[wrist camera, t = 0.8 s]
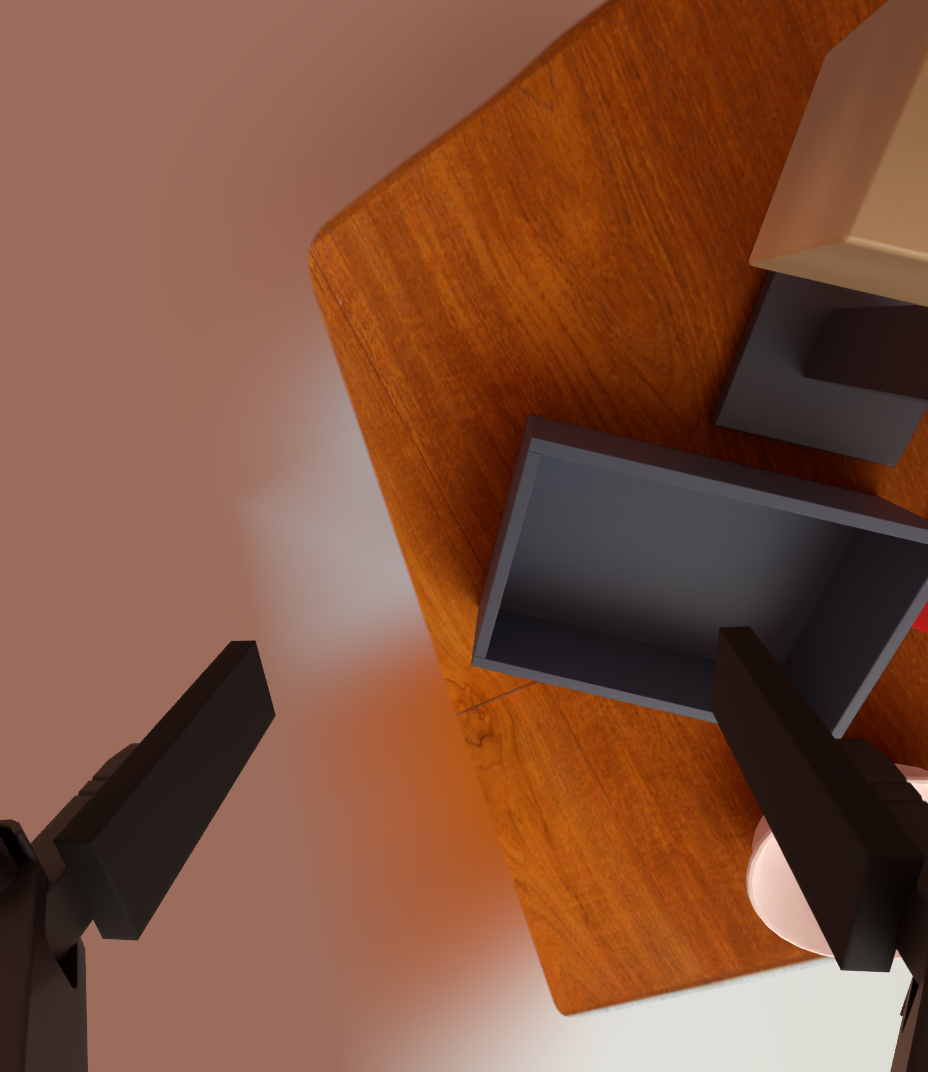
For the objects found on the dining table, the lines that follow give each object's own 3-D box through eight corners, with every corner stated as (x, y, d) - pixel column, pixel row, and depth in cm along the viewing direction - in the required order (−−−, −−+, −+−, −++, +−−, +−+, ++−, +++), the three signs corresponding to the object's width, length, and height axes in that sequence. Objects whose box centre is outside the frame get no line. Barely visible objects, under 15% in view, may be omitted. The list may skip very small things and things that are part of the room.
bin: (528, 414, 37) (531, 437, 30) (878, 496, 37) (967, 538, 29) (478, 607, 43) (470, 665, 35) (779, 678, 43) (833, 751, 35)
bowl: (1023, 777, 44) (1102, 848, 38) (855, 914, 51) (899, 991, 45) (817, 679, 42) (866, 737, 36) (674, 835, 50) (696, 904, 44)
